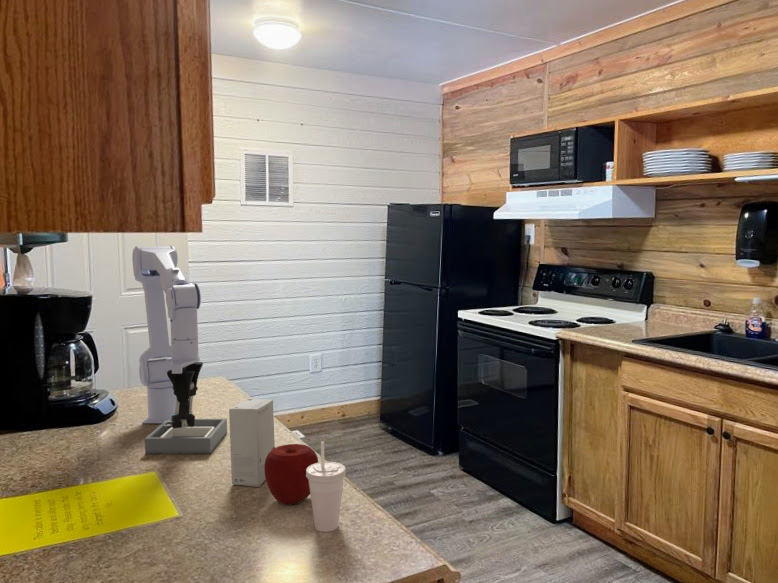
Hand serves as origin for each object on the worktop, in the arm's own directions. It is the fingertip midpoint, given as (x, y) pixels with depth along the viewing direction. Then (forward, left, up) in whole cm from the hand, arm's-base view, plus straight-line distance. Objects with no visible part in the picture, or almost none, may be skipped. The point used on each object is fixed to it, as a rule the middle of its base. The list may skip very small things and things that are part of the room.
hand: (186, 398), depth 139 cm
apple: (+30, +28, -11) cm, 42 cm away
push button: (0, -2, -7) cm, 7 cm away
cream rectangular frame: (0, 0, -10) cm, 10 cm away
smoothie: (+40, +35, -11) cm, 54 cm away
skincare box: (+20, +19, -11) cm, 30 cm away
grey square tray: (0, 0, -10) cm, 10 cm away
